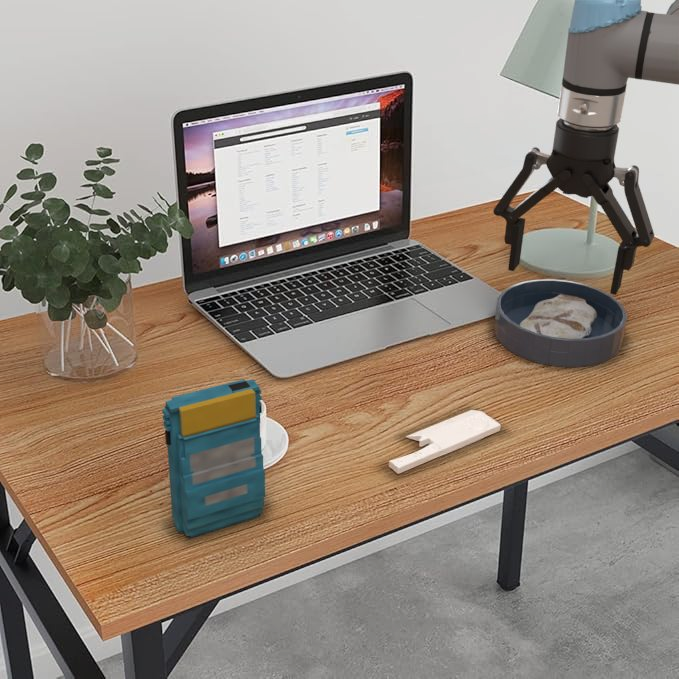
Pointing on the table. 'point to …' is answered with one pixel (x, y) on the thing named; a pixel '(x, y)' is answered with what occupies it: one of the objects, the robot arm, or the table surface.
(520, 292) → the bowl
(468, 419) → the white plastic strip tool
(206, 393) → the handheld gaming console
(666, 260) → the table surface
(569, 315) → the stone
